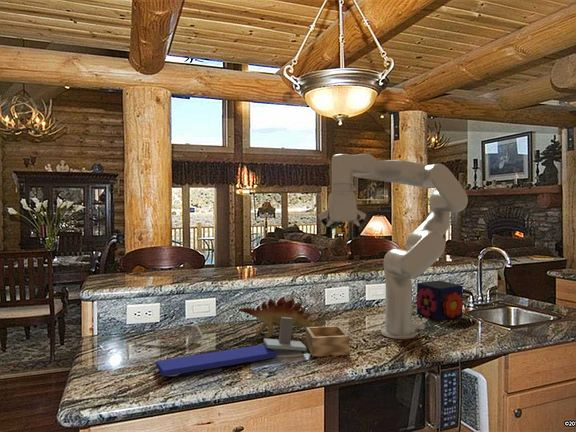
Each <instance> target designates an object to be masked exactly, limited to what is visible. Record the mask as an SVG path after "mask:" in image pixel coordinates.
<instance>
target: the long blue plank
mask: <svg viewBox="0 0 576 432" xmlns="http://www.w3.org/2000/svg"><path fill="white" fill-rule="evenodd" d="M275 357H277V352H276V351H274V350H272V349H270V348H267V347H266V345H265V344H259V345H253V346H252V345H251V346H245V347H239V348H234V349H225V350H220V351H213V352H207V353H201V354H193V355H188V356H180V357H175V358H168V359H161V360H156V361H155V363H156V364H155V366H156V368H157V370H158V371H159V373H160V374H161V375H162V377H176V376H179V375H180V374H186V373H187V374H188V373H192V372H198V371H204V370H210V369H216V368H221V367H226V366H227V367H228V366H233V365H238V364H244V363H251V362H257V361H263V360H267V359H274V358H275ZM277 358H278V357H277Z"/></svg>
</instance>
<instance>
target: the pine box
mask: <svg viewBox="0 0 576 432" xmlns="http://www.w3.org/2000/svg"><path fill="white" fill-rule="evenodd" d="M305 346H306V347H307V348H306V349H307V350H308V351H309V353H310V354H311V356H312V358H314V356H316V357H329V356H330V355H334V356H349V355H350V335H349V334H348V333H347V332H346V331H345V329H343V328H342V327H341V325H327V326H326V325H325V326H324V325H323V326H321V327H305ZM348 354H349V355H348ZM330 357H331V356H330Z"/></svg>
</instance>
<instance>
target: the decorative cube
mask: <svg viewBox="0 0 576 432" xmlns="http://www.w3.org/2000/svg"><path fill="white" fill-rule="evenodd" d="M463 287H464V286H463V285H461V284H457V283H454V282H449V281H444V280H433V281H432V280H431V281H430V280H429V281H424V282H423V281H422V282H417V283H416V298H415V299H416V302H415V303H416V313H417V314H418V315H421V316H423V317H426V318H430V319H433V320H437V321H446V320H454V319H459V318H463V308H464V302H463V297H464V294H463V291H464V290H463V289H464V288H463Z"/></svg>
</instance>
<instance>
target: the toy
mask: <svg viewBox="0 0 576 432" xmlns="http://www.w3.org/2000/svg"><path fill="white" fill-rule="evenodd" d="M294 300H295V299H294V298H291V299H289V300H287V301H286V299H285V297H281V298H279V299H278V300H277V301H275V300H273V299H272V298H269V300H268V301H267V303H266V301H263V302H262V303H261V306H260V305H258V306H257V307H256V309H255V307H252V306H250V307H248V306H246V307H242V308H239V312H243V313H245V314H249V315H250V316H252V317H254V318H257V319H258V320H259V321H261V323H262V324H261V325H260V327H259V329H256V330H255V334H262V332H263V331H264V330H265V329H266V328H268V329H267V330H268V333H265V334H264V335H263V338H265V339H269V338H271V337H272V336H273V334H274V326H275V327H280V321H281V317H288V318H292V319H293V320H292V327H295V326H296V327H301V328H303V327H304V328H306V327H322V326H324V325H326V324H327V322H326V321H324V318H323V317H322V318H321V317H319V319H317V323H316V321H314V322H312V319H310V317H311V314H310V313H308V312H306V310H307V309H306V308H305V307H303V308H301V307H302V305H303V304H302V303H301V302H296V303H295V301H294ZM305 312H306V313H305ZM293 333H294V330H292V331H291V336H292V335H293Z"/></svg>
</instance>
